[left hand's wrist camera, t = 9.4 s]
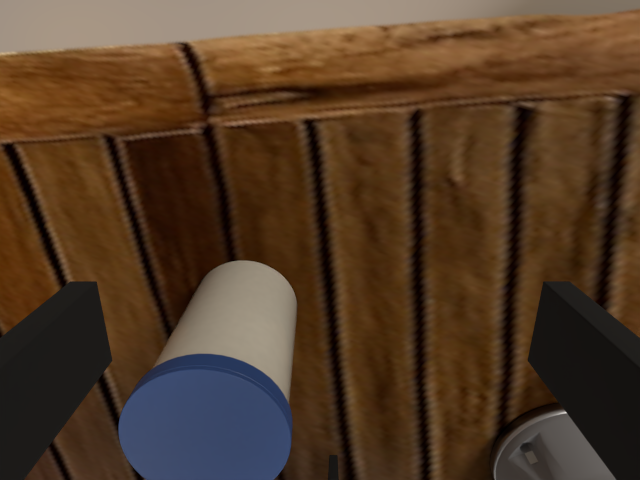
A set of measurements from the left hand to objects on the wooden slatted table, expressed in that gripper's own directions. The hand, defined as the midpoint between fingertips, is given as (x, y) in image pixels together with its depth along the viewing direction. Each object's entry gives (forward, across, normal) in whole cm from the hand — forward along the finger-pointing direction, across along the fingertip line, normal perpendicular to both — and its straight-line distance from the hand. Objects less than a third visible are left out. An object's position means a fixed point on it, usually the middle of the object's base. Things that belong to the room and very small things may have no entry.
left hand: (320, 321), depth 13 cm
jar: (+26, +7, +14) cm, 30 cm away
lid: (+10, +7, +14) cm, 19 cm away
